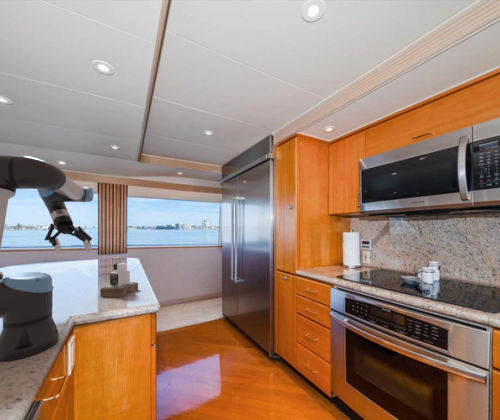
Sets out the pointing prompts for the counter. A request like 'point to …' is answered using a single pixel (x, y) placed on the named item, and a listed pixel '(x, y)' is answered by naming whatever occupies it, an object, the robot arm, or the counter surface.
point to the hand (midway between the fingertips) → (75, 250)
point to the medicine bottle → (119, 275)
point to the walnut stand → (118, 290)
